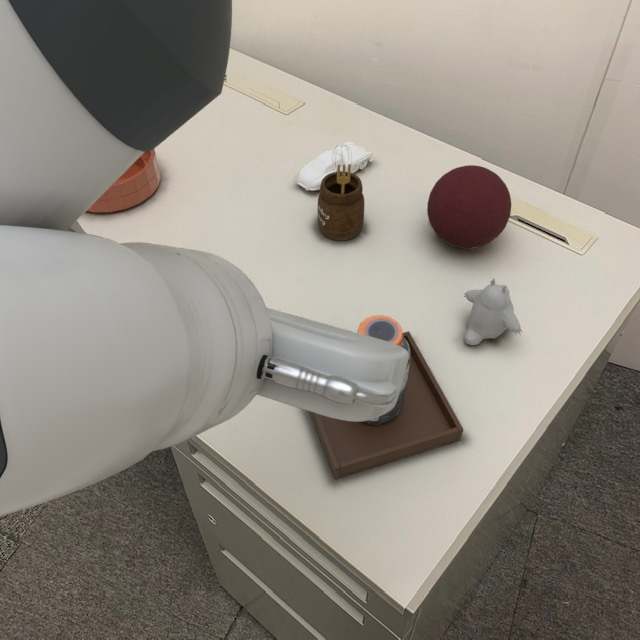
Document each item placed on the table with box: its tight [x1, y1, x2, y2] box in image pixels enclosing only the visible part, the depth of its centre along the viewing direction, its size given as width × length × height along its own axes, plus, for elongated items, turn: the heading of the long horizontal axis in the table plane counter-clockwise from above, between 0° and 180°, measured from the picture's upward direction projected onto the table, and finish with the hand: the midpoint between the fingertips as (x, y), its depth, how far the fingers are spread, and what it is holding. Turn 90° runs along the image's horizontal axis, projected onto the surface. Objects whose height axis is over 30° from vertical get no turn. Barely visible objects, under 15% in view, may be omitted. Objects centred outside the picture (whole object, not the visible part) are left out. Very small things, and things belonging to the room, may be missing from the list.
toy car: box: [296, 141, 374, 192], centre depth 90 cm, size 5×12×4 cm, turn 133°
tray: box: [308, 331, 465, 480], centre depth 65 cm, size 13×13×2 cm
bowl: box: [86, 148, 162, 213], centre depth 89 cm, size 13×13×4 cm
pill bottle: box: [355, 314, 411, 425], centre depth 61 cm, size 6×6×11 cm
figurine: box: [463, 277, 523, 346], centre depth 69 cm, size 8×6×8 cm
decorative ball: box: [426, 164, 512, 250], centre depth 79 cm, size 10×10×10 cm
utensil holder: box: [317, 143, 365, 241], centre depth 79 cm, size 6×6×12 cm
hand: (270, 327), depth 44 cm, fingers open, 8 cm apart
